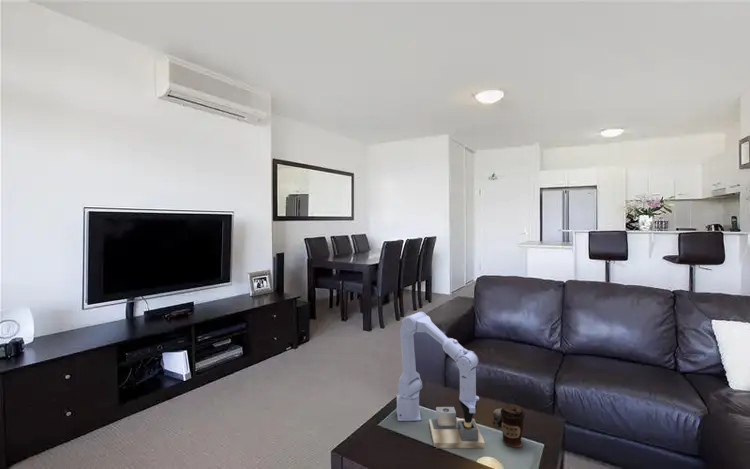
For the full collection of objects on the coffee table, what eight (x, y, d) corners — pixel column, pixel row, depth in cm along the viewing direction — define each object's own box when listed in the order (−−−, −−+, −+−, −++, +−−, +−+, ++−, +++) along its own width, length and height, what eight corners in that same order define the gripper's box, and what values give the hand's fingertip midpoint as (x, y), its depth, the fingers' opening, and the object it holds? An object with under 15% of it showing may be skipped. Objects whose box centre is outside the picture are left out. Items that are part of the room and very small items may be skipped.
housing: (437, 427, 141) (437, 413, 140) (436, 420, 145) (436, 406, 145) (456, 427, 140) (456, 413, 140) (454, 420, 145) (453, 406, 144)
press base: (434, 448, 132) (434, 431, 131) (429, 423, 146) (428, 409, 146) (484, 447, 131) (484, 431, 131) (474, 423, 146) (474, 408, 146)
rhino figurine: (522, 418, 149) (522, 404, 149) (497, 428, 143) (497, 413, 142) (513, 413, 153) (513, 399, 152) (489, 423, 146) (489, 408, 146)
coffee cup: (522, 453, 128) (522, 417, 127) (497, 445, 132) (497, 410, 131) (526, 439, 135) (526, 405, 134) (503, 432, 140) (503, 399, 139)
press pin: (464, 434, 134) (464, 423, 133) (462, 429, 136) (462, 419, 136) (473, 434, 133) (472, 423, 133) (471, 429, 136) (470, 419, 136)
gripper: (484, 395, 126) (484, 433, 127) (473, 376, 141) (473, 410, 142) (463, 395, 127) (463, 433, 128) (455, 376, 141) (455, 410, 142)
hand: (467, 421), depth 135 cm, fingers closed, pressing on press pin
